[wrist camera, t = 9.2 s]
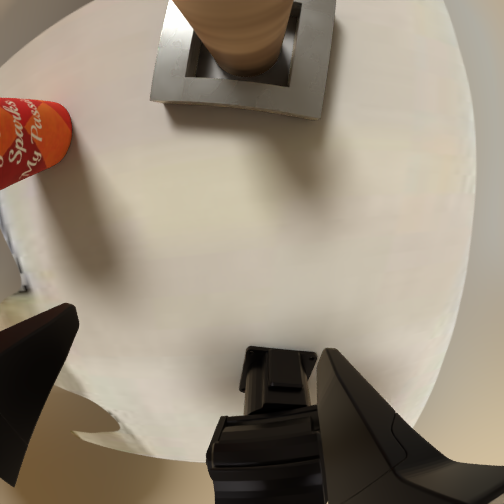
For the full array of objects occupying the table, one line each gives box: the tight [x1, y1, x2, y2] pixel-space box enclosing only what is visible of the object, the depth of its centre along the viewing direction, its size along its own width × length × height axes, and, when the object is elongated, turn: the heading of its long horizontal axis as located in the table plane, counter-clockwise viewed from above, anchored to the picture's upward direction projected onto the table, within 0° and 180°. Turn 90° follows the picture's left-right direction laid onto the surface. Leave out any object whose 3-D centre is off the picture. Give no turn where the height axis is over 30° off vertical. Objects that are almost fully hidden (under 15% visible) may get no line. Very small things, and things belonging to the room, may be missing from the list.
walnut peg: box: [172, 0, 294, 77], centre depth 9 cm, size 4×4×12 cm
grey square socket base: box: [150, 0, 336, 120], centre depth 14 cm, size 9×10×3 cm
